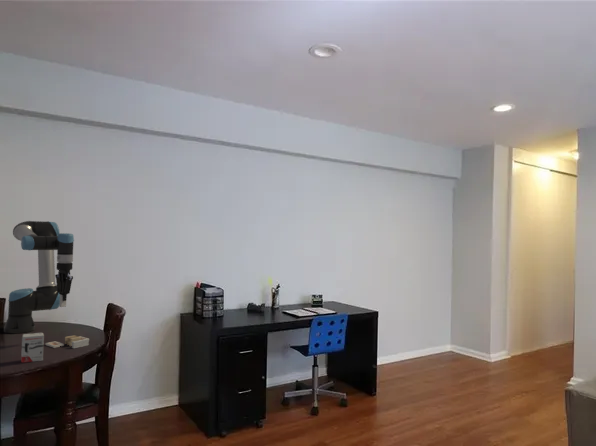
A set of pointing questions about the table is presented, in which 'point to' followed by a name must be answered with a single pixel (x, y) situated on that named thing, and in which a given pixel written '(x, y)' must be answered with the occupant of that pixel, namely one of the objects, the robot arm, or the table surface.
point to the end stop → (80, 343)
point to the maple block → (71, 339)
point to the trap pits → (57, 344)
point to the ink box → (32, 347)
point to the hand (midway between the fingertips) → (62, 306)
